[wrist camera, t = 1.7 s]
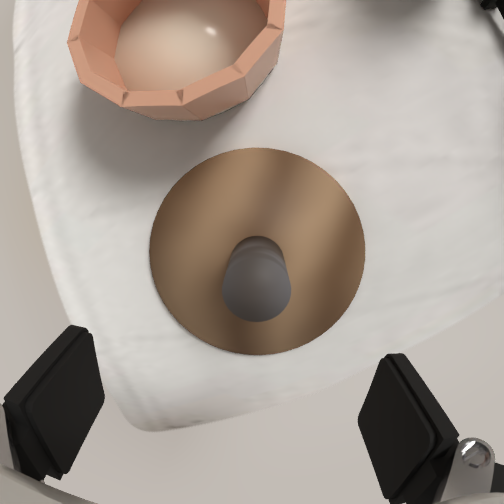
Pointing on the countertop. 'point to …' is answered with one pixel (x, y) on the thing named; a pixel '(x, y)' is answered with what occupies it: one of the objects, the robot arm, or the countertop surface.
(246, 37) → the bowl
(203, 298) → the lid
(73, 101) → the countertop surface
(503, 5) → the knife
